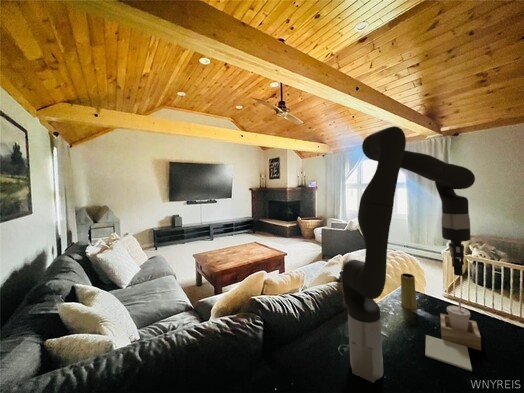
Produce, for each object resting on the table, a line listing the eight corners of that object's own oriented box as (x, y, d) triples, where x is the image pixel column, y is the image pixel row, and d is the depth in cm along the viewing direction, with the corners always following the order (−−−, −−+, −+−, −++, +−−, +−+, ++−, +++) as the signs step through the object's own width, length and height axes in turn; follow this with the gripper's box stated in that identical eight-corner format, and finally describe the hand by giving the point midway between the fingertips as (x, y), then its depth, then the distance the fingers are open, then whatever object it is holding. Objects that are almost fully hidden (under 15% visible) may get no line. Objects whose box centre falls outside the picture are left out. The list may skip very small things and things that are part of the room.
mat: (471, 371, 65) (471, 369, 65) (425, 356, 71) (425, 354, 71) (467, 348, 73) (467, 346, 73) (426, 336, 80) (425, 334, 80)
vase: (416, 304, 101) (415, 273, 100) (417, 311, 96) (416, 279, 95) (401, 301, 104) (399, 272, 103) (401, 308, 99) (399, 276, 98)
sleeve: (481, 350, 72) (480, 337, 72) (441, 339, 78) (441, 327, 78) (476, 333, 80) (475, 321, 80) (440, 324, 86) (440, 313, 86)
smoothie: (476, 343, 75) (475, 303, 75) (454, 342, 76) (453, 302, 76) (463, 331, 81) (462, 294, 81) (443, 330, 83) (442, 293, 82)
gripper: (441, 222, 85) (442, 263, 86) (442, 229, 74) (444, 276, 75) (467, 223, 81) (469, 266, 81) (473, 230, 69) (474, 280, 70)
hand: (457, 271), depth 78 cm, fingers open, 8 cm apart
